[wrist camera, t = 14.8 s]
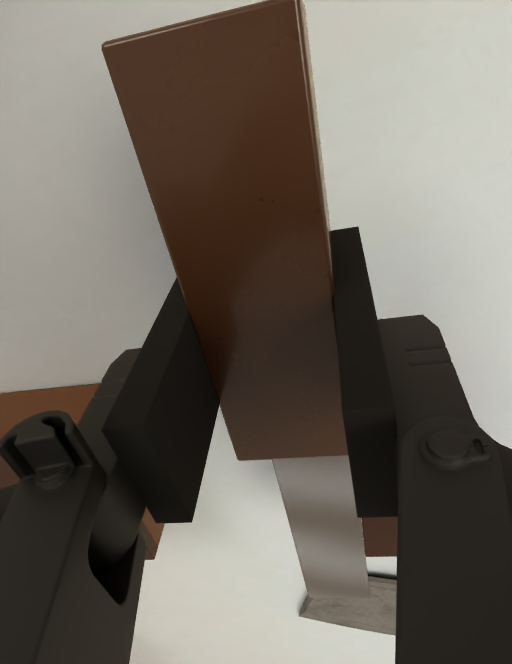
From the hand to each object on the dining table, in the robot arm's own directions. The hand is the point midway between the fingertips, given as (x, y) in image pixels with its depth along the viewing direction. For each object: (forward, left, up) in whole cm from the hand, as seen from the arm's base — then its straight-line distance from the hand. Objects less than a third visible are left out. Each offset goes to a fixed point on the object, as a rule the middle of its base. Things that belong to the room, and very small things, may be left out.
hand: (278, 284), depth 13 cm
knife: (+5, 0, 0) cm, 5 cm away
